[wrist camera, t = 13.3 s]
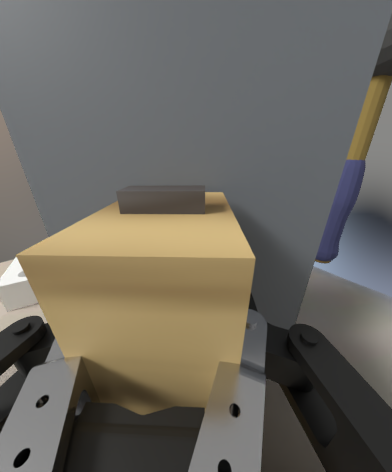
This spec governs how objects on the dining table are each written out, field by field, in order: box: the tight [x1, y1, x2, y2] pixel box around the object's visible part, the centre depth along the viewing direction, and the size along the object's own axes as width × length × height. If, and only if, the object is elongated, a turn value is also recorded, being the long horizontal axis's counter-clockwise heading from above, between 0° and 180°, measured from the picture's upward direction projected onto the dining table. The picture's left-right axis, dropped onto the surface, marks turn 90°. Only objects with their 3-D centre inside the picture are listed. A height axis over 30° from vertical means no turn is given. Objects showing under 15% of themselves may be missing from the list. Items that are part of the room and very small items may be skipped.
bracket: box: [0, 257, 38, 312], centre depth 24 cm, size 13×7×8 cm, turn 117°
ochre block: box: [16, 185, 256, 415], centre depth 9 cm, size 7×5×13 cm
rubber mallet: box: [315, 14, 392, 263], centre depth 23 cm, size 12×8×30 cm, turn 15°
